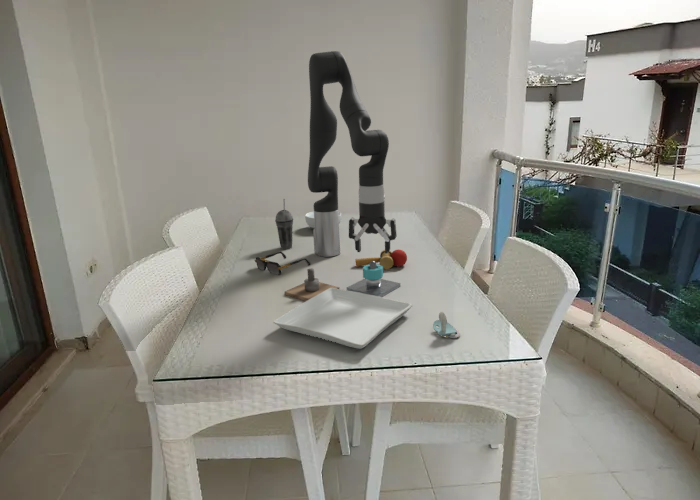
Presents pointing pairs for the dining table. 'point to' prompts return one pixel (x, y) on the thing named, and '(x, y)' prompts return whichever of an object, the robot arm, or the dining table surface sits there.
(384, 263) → the kendama
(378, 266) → the ring
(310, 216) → the cereal bowl
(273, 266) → the sunglasses
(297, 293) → the rod stand
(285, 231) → the beverage cup
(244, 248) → the dining table surface
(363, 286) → the hub
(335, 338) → the square plate
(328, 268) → the dining table surface
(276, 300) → the dining table surface
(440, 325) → the pacifier
